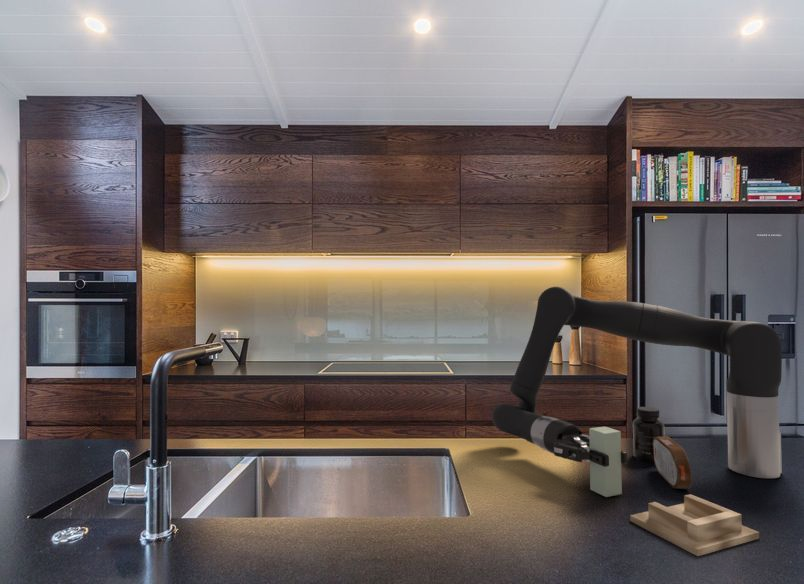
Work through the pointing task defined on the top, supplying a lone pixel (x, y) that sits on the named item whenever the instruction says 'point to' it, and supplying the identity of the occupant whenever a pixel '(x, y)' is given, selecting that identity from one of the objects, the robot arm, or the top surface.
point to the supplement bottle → (646, 433)
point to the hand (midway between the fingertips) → (616, 459)
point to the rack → (696, 525)
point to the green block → (609, 477)
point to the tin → (672, 462)
